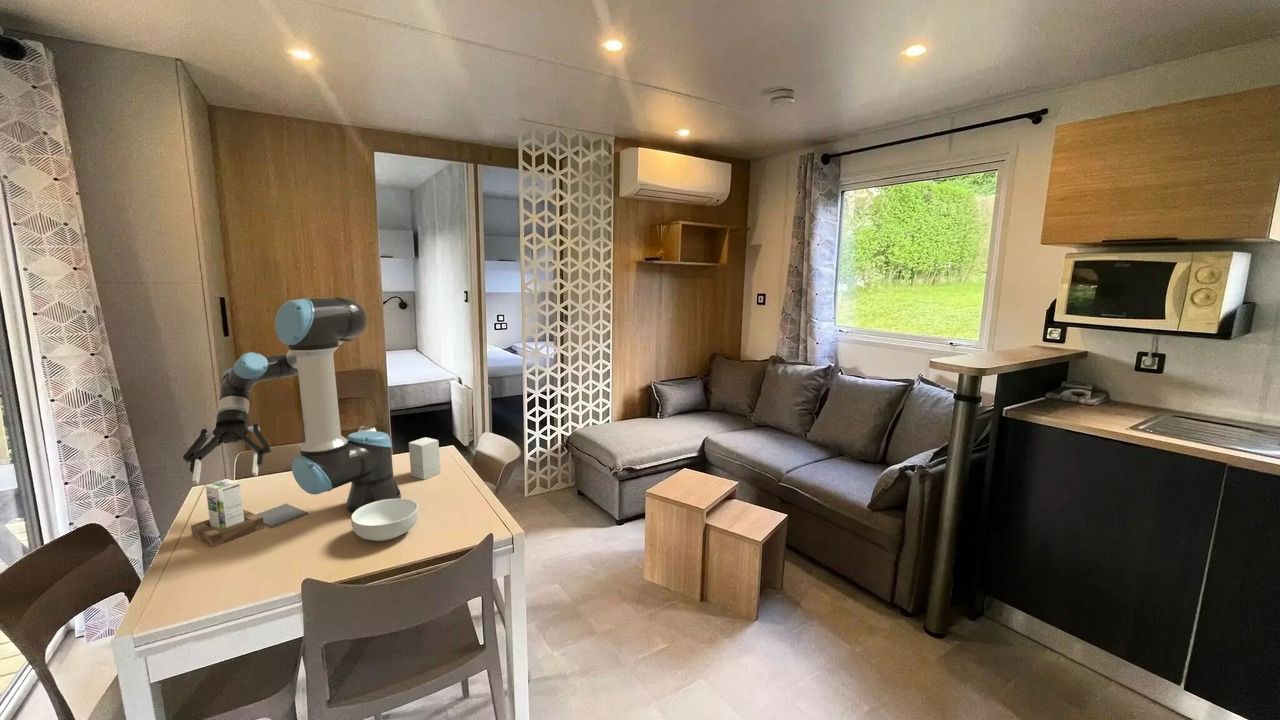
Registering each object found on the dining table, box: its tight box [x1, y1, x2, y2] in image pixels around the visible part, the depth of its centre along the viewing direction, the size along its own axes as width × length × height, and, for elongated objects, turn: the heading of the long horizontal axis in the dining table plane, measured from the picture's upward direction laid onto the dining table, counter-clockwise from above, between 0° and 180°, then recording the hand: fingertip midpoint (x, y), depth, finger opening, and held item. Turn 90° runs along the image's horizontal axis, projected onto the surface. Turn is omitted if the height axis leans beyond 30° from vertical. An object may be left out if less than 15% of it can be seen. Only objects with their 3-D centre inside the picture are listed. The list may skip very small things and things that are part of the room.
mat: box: [255, 503, 309, 529], centre depth 153 cm, size 12×10×1 cm
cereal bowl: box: [350, 498, 419, 542], centre depth 143 cm, size 17×17×7 cm
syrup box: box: [205, 478, 244, 531], centre depth 142 cm, size 6×6×14 cm
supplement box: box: [408, 437, 441, 480], centre depth 184 cm, size 7×7×13 cm
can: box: [357, 425, 377, 432], centre depth 201 cm, size 6×6×12 cm
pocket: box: [190, 508, 265, 549], centre depth 143 cm, size 12×12×3 cm
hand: (225, 478), depth 147 cm, fingers open, 13 cm apart
